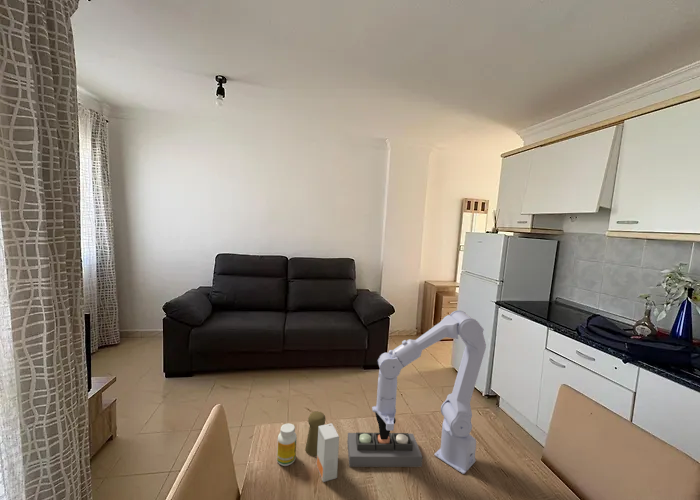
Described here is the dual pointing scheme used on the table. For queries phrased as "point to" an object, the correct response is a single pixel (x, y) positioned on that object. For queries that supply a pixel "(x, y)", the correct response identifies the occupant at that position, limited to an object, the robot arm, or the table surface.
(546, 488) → the table surface
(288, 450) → the supplement bottle
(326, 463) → the skincare box
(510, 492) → the table surface
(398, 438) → the cream button
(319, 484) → the table surface
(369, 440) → the sage button
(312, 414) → the olive pepper mill
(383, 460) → the charcoal button panel
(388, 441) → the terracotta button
